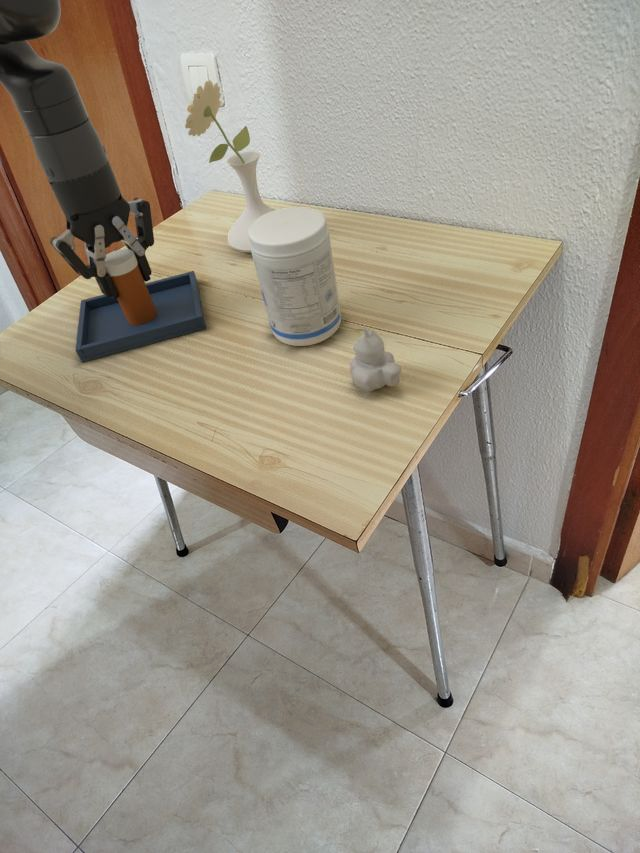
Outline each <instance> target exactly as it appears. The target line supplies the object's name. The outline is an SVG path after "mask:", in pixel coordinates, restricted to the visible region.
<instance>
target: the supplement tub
mask: <svg viewBox="0 0 640 853" xmlns="http://www.w3.org/2000/svg"><path fill="white" fill-rule="evenodd" d="M248 236H249V240H250V241H249V244H250V248H251V253H250V254H251V257H252V260H253V265H254V268H255V272H256V275H257V276H256V277H257V280H258V283H259V284H258V285H259V287H260V291H261V292H260V293H261V295H262V299H263V303H264V306H265V311H266V316H267V318H268V323H269V326H270V330H271V333H272V335H273V336H274V337H275V338H276V339H277V340H278V341H279V342H281V343H283V344H285V345H289V346H293V347H305V346H312V345H315V344H319V343H322V342H324V341H325V340H327V339H329V338H330V337H332V336H333V335H334V334H335V333H336V332H337V331H338V329H339V328H340V326H341V323H342V314H341V312H342V311H341V306H340V305H341V304H340V299H339V292H338V286H337V278H336V270H335V264H334V259H333V251H332V244H331V238H330V230H329V226H328V223H327V219H326V216H325V214H324V213H323V212H322V211H320V210H318V209H317V208H313V207H309V206H298V205H297V206H286V207H282V208H278V209H276V210H274V211H271V212H269V213H266V214H264V215H262V216H261V217H259V218H258V219H256V220H255V221H254V222H253V223H252V224H251V226H250V227H249V230H248Z"/></svg>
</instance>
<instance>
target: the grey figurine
mask: <svg viewBox="0 0 640 853" xmlns="http://www.w3.org/2000/svg"><path fill="white" fill-rule="evenodd" d="M352 349H353V350H354V355H355V356H354V357H353V358H351V360H350V362H349V370H350V376H351V379H352V381H353V383H354V385H355V386H356V387H357V388H359V389H361V390H363V391H365V392H372V391H376V390H379V389H382V388H383V387H385V386H388V387H397V386H398V385H400V383H401V379H400V375H401V373H402V366H401V365H400V364H399V363H396V362H395V357H394V354H392V353H391V352H388V351H386V350H385V344H384V340H383V338H382V337H381V336H380V335H379V334H377V332H376V331H375V330H373V329H371V330H369V331H368V330H367V328H366V327H365V326H363V334H361V335H360V336H359V337H358V339H357V342H355V343H354V345H353V347H352Z"/></svg>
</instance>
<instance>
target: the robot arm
mask: <svg viewBox="0 0 640 853" xmlns="http://www.w3.org/2000/svg"><path fill="white" fill-rule="evenodd" d="M60 1H61V0H0V84H1V86H3V88H4V89H5V90H6V91H7V93H8V95H9V96H10V97H11V100H12V102H13V104H14V106H15V108H16V110H17V113H18V115H19V116H20V119H21V121H22V123H23V125H24V127H25V130H26V131H27V133H28V136H29V139H30V141H31V144H32V147H33V150H34V154H35V155H36V158H37V160H38V162H39V164H40V167H41V168H42V171H43V173H44V175H45V178H46V179H47V182H48V183H49V186H50V187H51V189H52V192H53V193H54V196H55V198H56V201H57V202H58V204H59V207H60V209H61V211H62V213H63V214H64V216H65V220H66V230H65V231H64V232H63V233H61V234H60V235H59V236H58V237H57V236H53V237H51V238H50V241H49V243H50V245H51V246H52V247H53V249H54V250H55V251H56V252H57V253H58V254H59V255H60V256H61V257H62V258H63V260H64V261H65V263H67V264H68V265H69V267H71V268H72V270H73V271H74V272H75V273H76V274H77V275H78V276H81V277H83V278H84V279H86V280H90V279H92V278H94V279H95V281H96V284H97V285H98V288H99V290H100V291H101V293H102V295H106V296H107V297H109V298H110V297H111V298H112V299H114V300H115V299H116V298H118V297H119V295H118V293H117V291H116V289H115V287H114V284H113V282H112V280H111V278H110V276H109V274H107V273H106V267H105V259H106V255H107V253H106V249H107V248H109V247H110V246H111V245H112V244H113V243H119V242H121V243H122V245H124V246H125V248H126V249H129V250H132V251H133V252H134V254H135V257H136V259H137V262H138V267H139V269H140V272H141V274H142V277H143V279H144V282H145V283H148V282H150V280H151V275H152V269H151V266H150V263H149V261H148V258H147V256H146V252H147V250H148V248H149V247H153V246H154V245H155V235H154V229H153V228H154V226H153V218H152V211H151V210H152V209H151V203H150V202H149V201H148V200H145V199H143V198H140V197H134V198H133V199H132V200H129V201H127V199H125V198H124V197H123V195H122V192H121V189H120V186H119V184H118V181H117V179H116V176H115V174H114V171H113V169H112V165H111V163H110V161H109V158H108V156H107V152H106V149H105V146H104V145H103V143H102V141H101V139H100V136H99V134H98V132H97V131H96V129H95V127H94V125H93V123H92V121H91V119H90V117H89V114H88V112H87V109H86V106H85V104H84V101H83V99H82V96H81V94H80V92H79V89H78V86H77V84H76V82H75V79H74V77H73V75H72V73H71V72H70V70H69V69H68V68H67V67H66V66H65V65H63V64H61V63H59V62H56V61H52V60H47V59H45V58H43V57H42V56H40V55H39V54H38V53H37V52H36V51H35V50H34V48H33V46H31V44H30V43H29V41H32V40H39V39H43V38H45V37H47V36H50V35H51V34H52V33H53V32H55V31H56V29H57V27H58V25H59V23H60V19H61V12H62V9H61V2H60ZM130 213H131V216H132V217H134V220H135V230H136V236H135V235H134V233H133V232H132V231H131V230H130V229H129V228H128V224H129V218H130ZM75 238H76V239H78V240H80V241H81V242H83V244H84V251H85V254H86V256H87V262H88V264H85V263H84V262H83V260H82V259H81V258H80V257H79V256H78V254H77V253H76V252H75V249H76V244H75V242H74V239H75Z"/></svg>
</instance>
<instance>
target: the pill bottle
mask: <svg viewBox="0 0 640 853" xmlns="http://www.w3.org/2000/svg"><path fill="white" fill-rule="evenodd" d="M105 267H106V273H107V274H109V276H110V278H111V280H112V282H113V284H114V287H115V289H116V291H117V293H118V295H119V297H118V298H117V299H118V302H119V304H120V306H121V308H122V310H123V313H124V315H125V317H126V319H127V321H128V323H129V324H131V325H141V324H145V323H147V322H149V321H151V320H152V319H154V318H155V316H156V315H157V311H156V308H155V306H154V304H153V301H152V299H151V296H150V294H149V291H148V289H147V286H146V284H145V283H146V282H145V281H144V279H143V277H142V274H141V272H140V269H139V267H138V262H137V259H136V257H135V254H134V252H133V251H132V250H129V249H128V248H122V249H121V248H120V249H117V250H113V251H111V252H109V253H106V259H105Z"/></svg>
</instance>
